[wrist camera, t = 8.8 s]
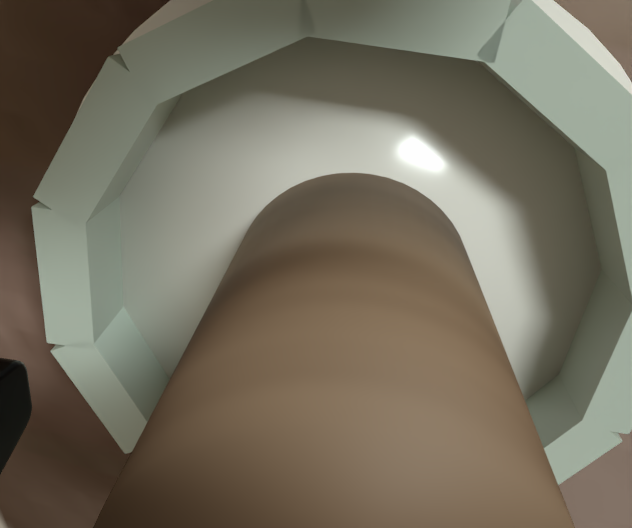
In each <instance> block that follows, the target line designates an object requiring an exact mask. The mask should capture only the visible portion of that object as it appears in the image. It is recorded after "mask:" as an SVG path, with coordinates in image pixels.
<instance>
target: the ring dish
mask: <svg viewBox="0 0 632 528" xmlns="http://www.w3.org/2000/svg"><path fill="white" fill-rule="evenodd" d="M117 49H118V50H117V51H116V52H115V53H114V54H113V55H111V56H108V57H107V59H106V61H105V63H104V65H103V67H102V69H101V71H100V72H99V74H98V76H97V78H96V79H95V81H94V82H93V84H92V86H91V87H90V89H89V90H88V92H87V93H86V95H85V97H84V98H83V101H82V103H81V105H80V107H79V110H78V112H77V114H76V117H75V119H74V121H73V123H72V125H71V127H70V128H69V130H68V132H67V134H66V136H65V138H64V140H63V142H62V143H61V145H60V147H59V149H58V151H57V153H56V155H55V157H54V158H53V160H52V162H51V164H50V166H49V168H48V170H47V171H46V173H45V175H44V177H43V179H42V181H41V183H40V185H39V186H38V188H37V190H36V192H35V194H34V196H33V197H34V198H35V199H37V200H38V201H40V202H38V203H37V204H35V205H33V206H32V207H31V210H32V218H33V227H34V236H35V245H36V253H37V262H38V271H39V279H40V288H41V297H42V305H43V314H44V323H45V331H46V340H47V343H51V344H56V345H55V346H54V348H53V349H52V350H51V353H52V354H53V356H54V357H55V358H56V360H57V361H58V362H59V364H60V365H61V367H62V368H63V369H64V371H65V372H66V373H67V375H68V376H69V378H70V379H71V380H72V382H73V383H74V385H75V386H76V387H77V389H78V390H79V391H80V393H81V394H82V396H83V397H84V398H85V400H86V401H87V402H88V404H89V405H90V407H91V408H92V409H93V411H94V412H95V413H96V415H97V416H98V418H99V419H100V420H101V422H102V423H103V424H104V426H105V427H106V429H107V430H108V431H109V433H110V434H111V435H112V437H113V438H114V440H115V441H116V442H117V444H118V445H119V447H120V448H121V449H122V451H123V452H124V453H125V454H127V453H130V452H132V451H133V449H134V447H135V445H136V443H137V441H138V439H139V437H140V435H141V433H142V432H143V430H144V428H145V426H146V424H147V422H148V420H149V418H150V416H151V414H152V412H153V410H154V409H155V407H156V405H157V403H158V401H159V399H160V397H161V395H162V393H163V391H164V389H165V388H166V386H167V384H168V382H169V380H170V378H171V376H172V374H173V372H174V370H175V368H176V366H177V365H178V363H179V361H180V359H181V357H182V355H183V353H184V351H185V349H186V347H187V345H188V343H189V342H190V340H191V338H192V336H193V334H194V332H195V330H196V328H197V326H198V324H199V322H200V321H201V319H202V317H203V315H204V313H205V311H206V309H207V307H208V305H209V303H210V301H211V299H212V298H213V296H214V294H215V292H216V290H217V288H218V286H219V284H220V282H221V280H222V278H223V276H224V275H225V273H226V271H227V269H228V267H229V265H230V263H231V261H232V259H233V257H234V255H235V253H236V252H237V250H238V248H239V246H240V244H241V242H242V240H243V238H244V236H245V234H246V232H247V231H248V229H249V227H250V226H251V224H252V223H253V221H254V220H255V218H256V217H257V215H258V214H259V213H260V212H261V211H262V210H263V209H264V208H265V206H266V205H268V204H269V203H270V202H271V201H272V200H274V199H275V198H276V197H277V196H278V195H280V194H282V193H283V192H285V191H286V190H288V189H289V188H291V187H293V186H295V185H298V184H300V183H302V182H304V181H307V180H310V179H313V178H316V177H320V176H324V175H330V174H336V173H365V174H373V175H378V176H382V177H387V178H390V179H393V180H396V181H398V182H401V183H404V184H406V185H408V186H410V187H412V188H413V189H415V190H417V191H419V192H420V193H422V194H423V195H425V196H426V197H427V198H429V199H430V200H432V201H433V202H434V203H435V204H436V205H437V206H438V207H439V208H440V209H441V210H442V211H443V212H444V213H445V214H446V216H447V217H448V218H449V219H450V220H451V222H452V223H453V225H454V226H455V228H456V230H457V231H458V233H459V235H460V237H461V240H462V242H463V244H464V247H465V249H466V252H467V254H468V257H469V259H470V262H471V264H472V267H473V270H474V272H475V275H476V277H477V280H478V282H479V285H480V287H481V290H482V292H483V295H484V298H485V300H486V303H487V305H488V308H489V310H490V313H491V315H492V318H493V320H494V323H495V326H496V328H497V331H498V333H499V336H500V338H501V341H502V343H503V346H504V348H505V351H506V354H507V356H508V359H509V361H510V364H511V366H512V369H513V371H514V374H515V376H516V379H517V382H518V384H519V387H520V389H521V392H522V394H523V397H524V399H525V402H526V404H527V407H528V409H529V412H530V415H531V417H532V420H533V422H534V425H535V427H536V430H537V432H538V435H539V437H540V440H541V443H542V445H543V448H544V450H545V453H546V455H547V458H548V460H549V463H550V465H551V468H552V471H553V473H554V476H555V478H556V481H557V483H558V485H559V484H561V483H562V482H564V481H565V480H566V479H568V478H569V477H571V476H572V475H574V474H575V473H577V472H578V471H580V470H581V469H583V468H584V467H586V466H587V465H588V464H590V463H591V462H593V461H594V460H596V459H597V458H599V457H600V456H602V455H603V454H605V453H606V452H608V451H609V450H610V449H612V448H613V447H615V446H616V445H618V444H619V443H621V442H622V439H621V438H620V436H619V434H618V433H624V434H629V433H630V431H631V429H632V82H631V81H630V79H629V78H628V76H627V74H626V73H625V71H624V70H623V68H622V67H621V65H620V64H619V63H618V62H617V60H616V59H615V58H614V57H613V56H612V55H611V54H610V53H609V51H608V50H607V49H606V48H605V47H604V46H603V45H602V44H601V42H600V41H599V40H598V39H597V38H596V37H595V36H594V35H593V33H592V32H591V31H590V30H589V29H588V28H587V27H585V26H584V25H583V24H582V23H580V22H579V21H578V20H577V19H576V18H574V17H573V16H572V15H571V14H569V13H568V12H567V11H566V10H564V9H563V8H562V7H561V6H560V5H558V4H557V3H556V2H555V1H553V0H170V1H169V2H168V3H166V4H165V5H164V6H163V7H162V8H160V9H159V10H158V11H157V12H156V13H154V14H153V15H152V16H151V17H150V18H148V19H147V20H146V21H145V22H144V23H143V24H141V25H140V26H139V27H138V28H137V29H135V30H134V31H133V33H132V34H131V35H130V36H129V37H128V38H127V39H126V41H125V42H124V43H123V44H122V45H121V46H119V47H117Z"/></svg>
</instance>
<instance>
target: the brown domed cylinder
mask: <svg viewBox="0 0 632 528" xmlns="http://www.w3.org/2000/svg"><path fill="white" fill-rule="evenodd" d="M93 528H575V527H574V524H573V521H572V519H571V516H570V514H569V511H568V509H567V506H566V504H565V501H564V499H563V496H562V493H561V491H560V488H559V486H558V483H557V481H556V478H555V476H554V473H553V471H552V468H551V465H550V463H549V460H548V458H547V455H546V453H545V450H544V448H543V445H542V443H541V440H540V437H539V435H538V432H537V430H536V427H535V425H534V422H533V420H532V417H531V415H530V412H529V409H528V407H527V404H526V402H525V399H524V397H523V394H522V392H521V389H520V387H519V384H518V382H517V379H516V376H515V374H514V371H513V369H512V366H511V364H510V361H509V359H508V356H507V354H506V351H505V348H504V346H503V343H502V341H501V338H500V336H499V333H498V331H497V328H496V326H495V323H494V320H493V318H492V315H491V313H490V310H489V308H488V305H487V303H486V300H485V298H484V295H483V292H482V290H481V287H480V285H479V282H478V280H477V277H476V275H475V272H474V270H473V267H472V264H471V262H470V259H469V257H468V254H467V252H466V249H465V247H464V244H463V242H462V240H461V237H460V235H459V233H458V231H457V230H456V228H455V226H454V225H453V223H452V222H451V220H450V219H449V218H448V217H447V216H446V214H445V213H444V212H443V211H442V210H441V209H440V208H439V207H438V206H437V205H436V204H435V203H434V202H433V201H432V200H430V199H429V198H427V197H426V196H425V195H423V194H422V193H420V192H419V191H417V190H415V189H413V188H412V187H410V186H408V185H406V184H404V183H401V182H398V181H396V180H393V179H390V178H387V177H382V176H378V175H373V174H365V173H336V174H330V175H324V176H320V177H316V178H313V179H310V180H307V181H304V182H302V183H300V184H298V185H295V186H293V187H291V188H289V189H288V190H286V191H285V192H283V193H282V194H280V195H278V196H277V197H276V198H275V199H274V200H272V201H271V202H270V203H269V204H268V205H266V206H265V208H264V209H263V210H262V211H261V212H260V213H259V214H258V215H257V217H256V218H255V220H254V221H253V223H252V224H251V226H250V227H249V229H248V231H247V232H246V234H245V236H244V238H243V240H242V242H241V244H240V246H239V248H238V250H237V252H236V253H235V255H234V257H233V259H232V261H231V263H230V265H229V267H228V269H227V271H226V273H225V275H224V276H223V278H222V280H221V282H220V284H219V286H218V288H217V290H216V292H215V294H214V296H213V298H212V299H211V301H210V303H209V305H208V307H207V309H206V311H205V313H204V315H203V317H202V319H201V321H200V322H199V324H198V326H197V328H196V330H195V332H194V334H193V336H192V338H191V340H190V342H189V343H188V345H187V347H186V349H185V351H184V353H183V355H182V357H181V359H180V361H179V363H178V365H177V366H176V368H175V370H174V372H173V374H172V376H171V378H170V380H169V382H168V384H167V386H166V388H165V389H164V391H163V393H162V395H161V397H160V399H159V401H158V403H157V405H156V407H155V409H154V410H153V412H152V414H151V416H150V418H149V420H148V422H147V424H146V426H145V428H144V430H143V432H142V433H141V435H140V437H139V439H138V441H137V443H136V445H135V447H134V449H133V451H132V453H131V455H130V456H129V458H128V460H127V462H126V464H125V466H124V468H123V470H122V472H121V474H120V476H119V478H118V479H117V481H116V483H115V485H114V487H113V489H112V491H111V493H110V495H109V497H108V499H107V500H106V502H105V504H104V506H103V508H102V510H101V512H100V514H99V516H98V519H97V521H96V523H95V525H94V527H93Z"/></svg>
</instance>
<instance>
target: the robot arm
mask: <svg viewBox="0 0 632 528" xmlns="http://www.w3.org/2000/svg"><path fill="white" fill-rule="evenodd" d="M31 410H32V403H31V396H30V389H29V382H28V374H27V369H26V366H25V365H24V364H23V363H22V362H20V361H17V360H11V359H4V358H0V474H1V472H2V470H3V468H4V467H5V465H6V463H7V461H8V459H9V457H10V455H11V453H12V452H13V450H14V448H15V446H16V444H17V442H18V440H19V439H20V437H21V435H22V433H23V431H24V429H25V427H26V425H27V423H28V421H29V418H30V415H31Z"/></svg>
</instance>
